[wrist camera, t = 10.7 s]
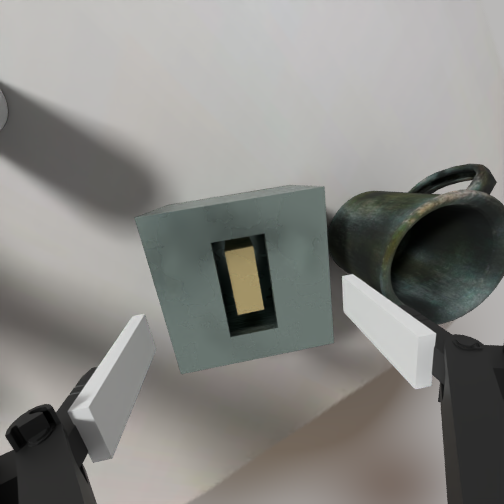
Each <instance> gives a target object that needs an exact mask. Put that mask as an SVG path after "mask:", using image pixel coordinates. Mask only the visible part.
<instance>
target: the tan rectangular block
mask: <svg viewBox="0 0 504 504" xmlns="http://www.w3.org/2000/svg"><path fill="white" fill-rule="evenodd" d="M225 256H226V261H227V266H228V270H229V275H230V280H231V285H232V289H233V294H234V299H235V303H236V308H237V313H238V315H240V314H245V313H250V312H254V311H259V310H264V306H263V300H262V294H261V289H260V283H259V277H258V271H257V266H256V260H255V254H254V248H253V245H252V243H251V240H250V238H249V236H247V237H241V238H235V239H230V240H225Z"/></svg>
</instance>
